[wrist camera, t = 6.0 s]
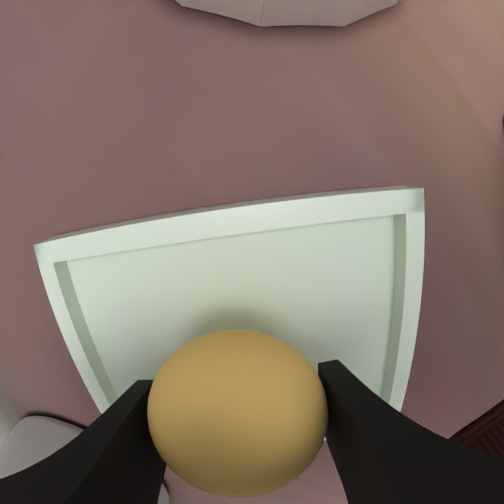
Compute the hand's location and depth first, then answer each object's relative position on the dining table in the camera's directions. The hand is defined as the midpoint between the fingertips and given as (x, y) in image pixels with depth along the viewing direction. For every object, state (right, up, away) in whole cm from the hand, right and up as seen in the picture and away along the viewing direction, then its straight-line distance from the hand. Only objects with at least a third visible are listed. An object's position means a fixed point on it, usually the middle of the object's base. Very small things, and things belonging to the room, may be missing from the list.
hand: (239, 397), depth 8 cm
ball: (0, 0, -1) cm, 1 cm away
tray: (0, +1, +3) cm, 3 cm away
